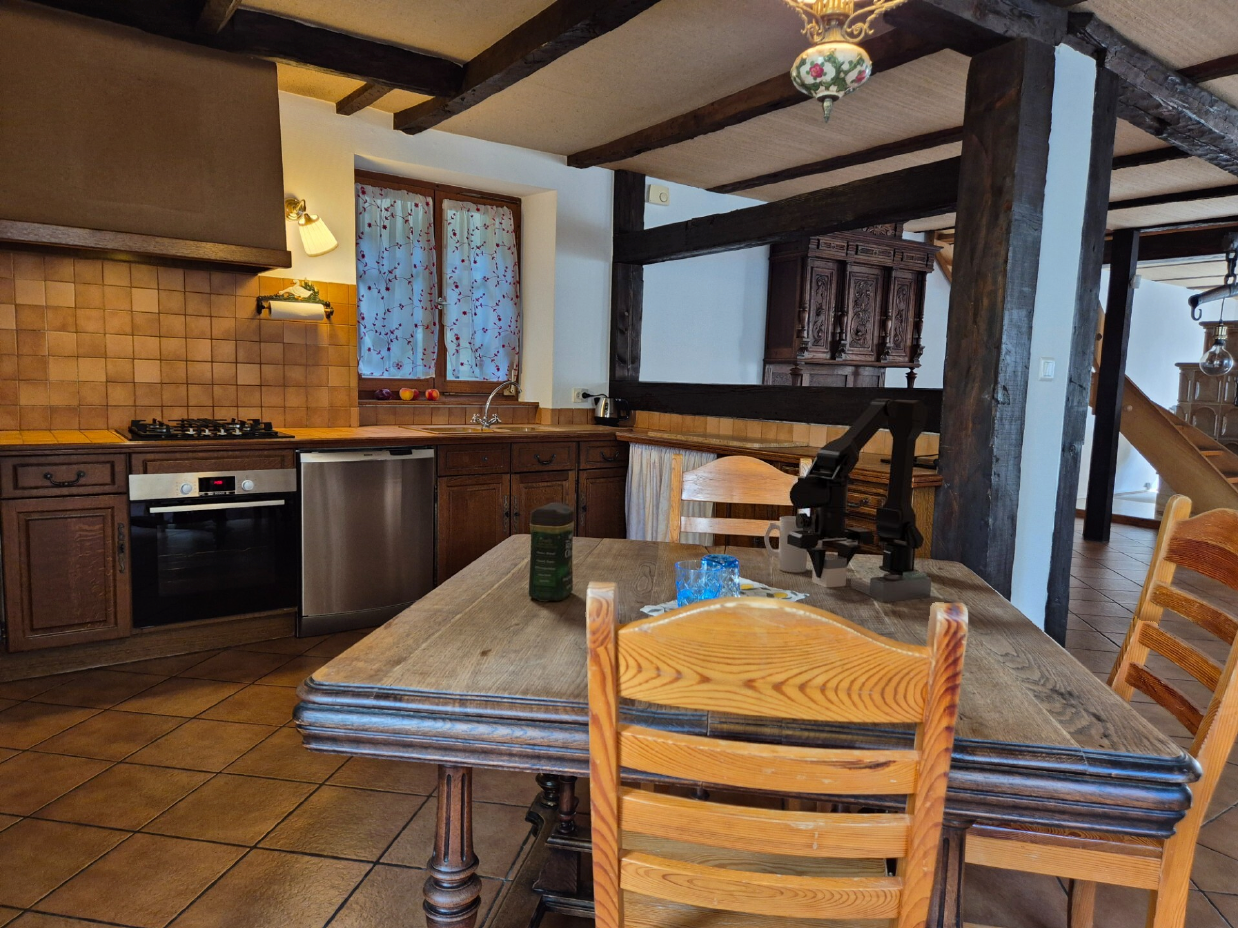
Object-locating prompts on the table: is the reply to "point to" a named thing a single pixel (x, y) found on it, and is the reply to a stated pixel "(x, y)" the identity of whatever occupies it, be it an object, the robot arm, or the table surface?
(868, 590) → the knobbed block assembly
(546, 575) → the coffee jar
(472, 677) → the table surface
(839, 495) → the robot arm
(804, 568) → the mug
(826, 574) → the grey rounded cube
